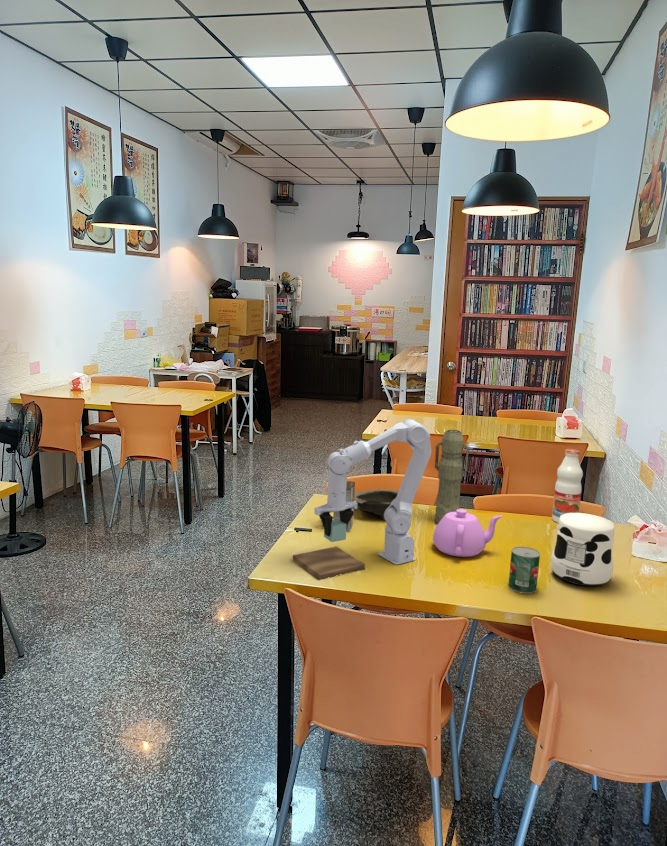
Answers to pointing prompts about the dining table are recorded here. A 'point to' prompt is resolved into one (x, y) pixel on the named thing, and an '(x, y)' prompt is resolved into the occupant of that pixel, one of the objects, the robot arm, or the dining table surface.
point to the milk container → (583, 549)
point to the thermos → (450, 472)
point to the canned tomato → (524, 569)
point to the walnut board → (328, 562)
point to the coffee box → (349, 498)
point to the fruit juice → (567, 486)
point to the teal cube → (337, 531)
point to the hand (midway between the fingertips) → (335, 533)
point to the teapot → (462, 534)
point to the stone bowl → (375, 500)
